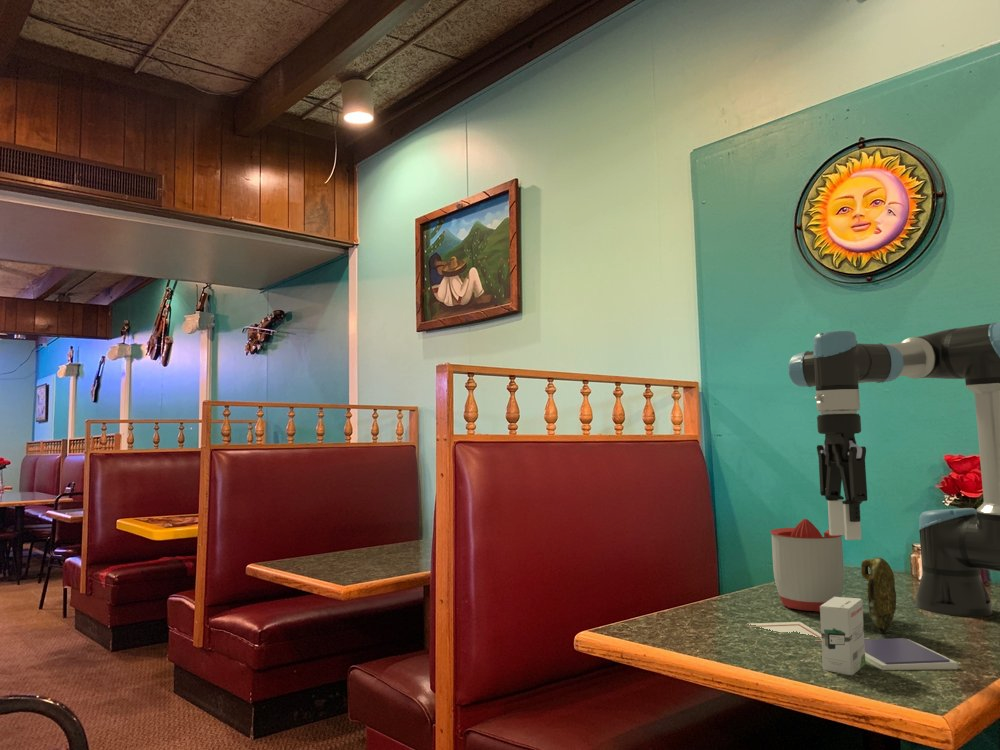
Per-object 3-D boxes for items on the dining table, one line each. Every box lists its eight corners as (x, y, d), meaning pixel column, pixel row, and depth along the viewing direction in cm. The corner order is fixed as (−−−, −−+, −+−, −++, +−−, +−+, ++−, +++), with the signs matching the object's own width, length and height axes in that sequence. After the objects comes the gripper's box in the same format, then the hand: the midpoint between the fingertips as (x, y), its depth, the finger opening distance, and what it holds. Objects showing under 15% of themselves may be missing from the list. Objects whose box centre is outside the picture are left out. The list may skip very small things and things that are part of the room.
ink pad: (908, 646, 138) (907, 637, 138) (957, 671, 124) (957, 660, 124) (840, 648, 137) (840, 639, 138) (882, 673, 123) (881, 663, 124)
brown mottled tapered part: (880, 639, 143) (876, 561, 144) (855, 635, 146) (851, 558, 147) (899, 630, 149) (894, 554, 150) (874, 625, 152) (870, 552, 153)
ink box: (836, 662, 130) (833, 594, 131) (867, 668, 127) (863, 598, 128) (821, 676, 123) (817, 604, 124) (853, 682, 120) (849, 608, 121)
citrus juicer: (857, 602, 171) (852, 516, 173) (836, 619, 158) (830, 524, 159) (789, 594, 181) (785, 512, 183) (763, 608, 168) (759, 520, 169)
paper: (799, 623, 155) (799, 621, 155) (837, 645, 139) (837, 643, 139) (725, 625, 155) (725, 623, 155) (754, 648, 139) (754, 646, 139)
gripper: (796, 414, 148) (802, 531, 147) (844, 412, 130) (851, 545, 129) (833, 413, 149) (839, 529, 147) (885, 411, 131) (893, 544, 129)
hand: (845, 536), depth 138 cm, fingers open, 5 cm apart
